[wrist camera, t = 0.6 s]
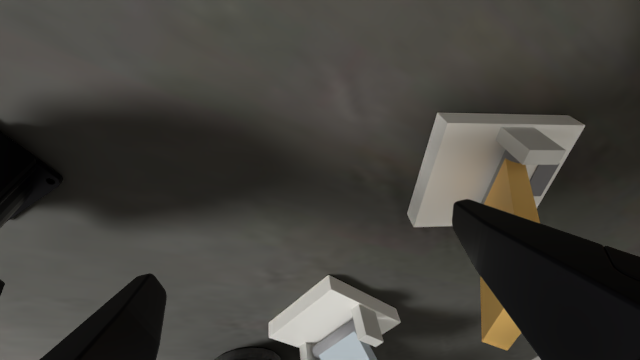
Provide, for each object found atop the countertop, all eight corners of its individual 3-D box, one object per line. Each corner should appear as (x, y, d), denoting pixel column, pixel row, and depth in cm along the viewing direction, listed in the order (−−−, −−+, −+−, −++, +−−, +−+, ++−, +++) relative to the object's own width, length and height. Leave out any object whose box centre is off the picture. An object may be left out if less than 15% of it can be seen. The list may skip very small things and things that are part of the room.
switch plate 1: (268, 322, 34) (268, 369, 31) (328, 274, 31) (336, 320, 27) (337, 347, 39) (345, 390, 35) (396, 308, 36) (410, 351, 32)
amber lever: (475, 211, 26) (476, 346, 17) (505, 143, 23) (527, 268, 14) (493, 216, 26) (505, 356, 17) (527, 148, 22) (565, 279, 13)
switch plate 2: (406, 213, 28) (428, 256, 24) (437, 112, 23) (470, 146, 19) (516, 211, 29) (552, 250, 25) (568, 115, 24) (623, 147, 20)
